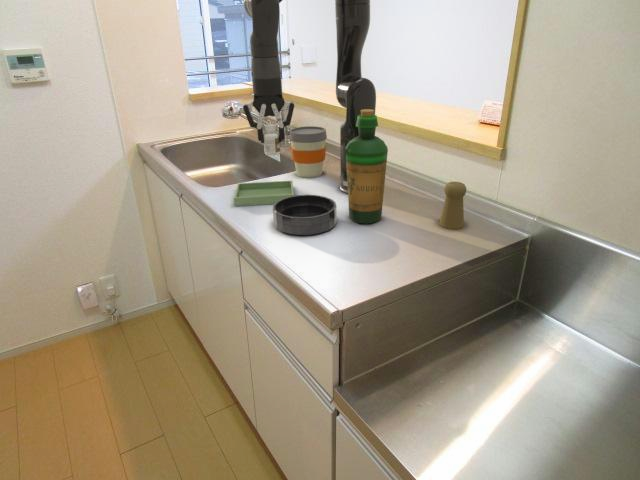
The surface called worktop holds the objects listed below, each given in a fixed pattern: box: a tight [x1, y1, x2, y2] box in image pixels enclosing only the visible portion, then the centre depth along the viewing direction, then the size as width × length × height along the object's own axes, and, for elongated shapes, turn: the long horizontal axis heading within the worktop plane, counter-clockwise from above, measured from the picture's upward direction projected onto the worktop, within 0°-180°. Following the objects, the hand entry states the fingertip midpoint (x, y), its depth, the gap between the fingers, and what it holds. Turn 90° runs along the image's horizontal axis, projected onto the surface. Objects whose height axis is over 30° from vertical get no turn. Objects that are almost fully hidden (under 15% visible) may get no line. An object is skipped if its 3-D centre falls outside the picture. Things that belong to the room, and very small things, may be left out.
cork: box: [439, 181, 467, 230], centre depth 112 cm, size 6×6×11 cm
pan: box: [272, 194, 338, 236], centre depth 117 cm, size 16×16×5 cm
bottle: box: [346, 109, 389, 225], centre depth 113 cm, size 11×11×28 cm
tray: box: [233, 180, 295, 207], centre depth 136 cm, size 17×13×2 cm
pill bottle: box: [263, 123, 281, 156], centre depth 123 cm, size 4×4×8 cm
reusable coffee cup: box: [288, 125, 328, 179], centre depth 153 cm, size 13×13×15 cm
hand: (271, 141), depth 123 cm, fingers closed on pill bottle, 4 cm apart
